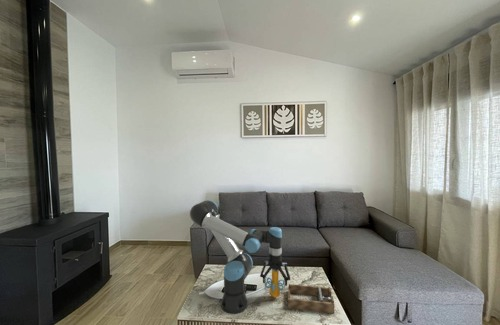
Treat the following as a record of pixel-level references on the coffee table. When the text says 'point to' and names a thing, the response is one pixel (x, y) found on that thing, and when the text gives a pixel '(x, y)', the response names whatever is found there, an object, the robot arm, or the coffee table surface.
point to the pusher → (321, 296)
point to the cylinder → (275, 284)
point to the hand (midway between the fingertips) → (274, 289)
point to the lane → (307, 303)
